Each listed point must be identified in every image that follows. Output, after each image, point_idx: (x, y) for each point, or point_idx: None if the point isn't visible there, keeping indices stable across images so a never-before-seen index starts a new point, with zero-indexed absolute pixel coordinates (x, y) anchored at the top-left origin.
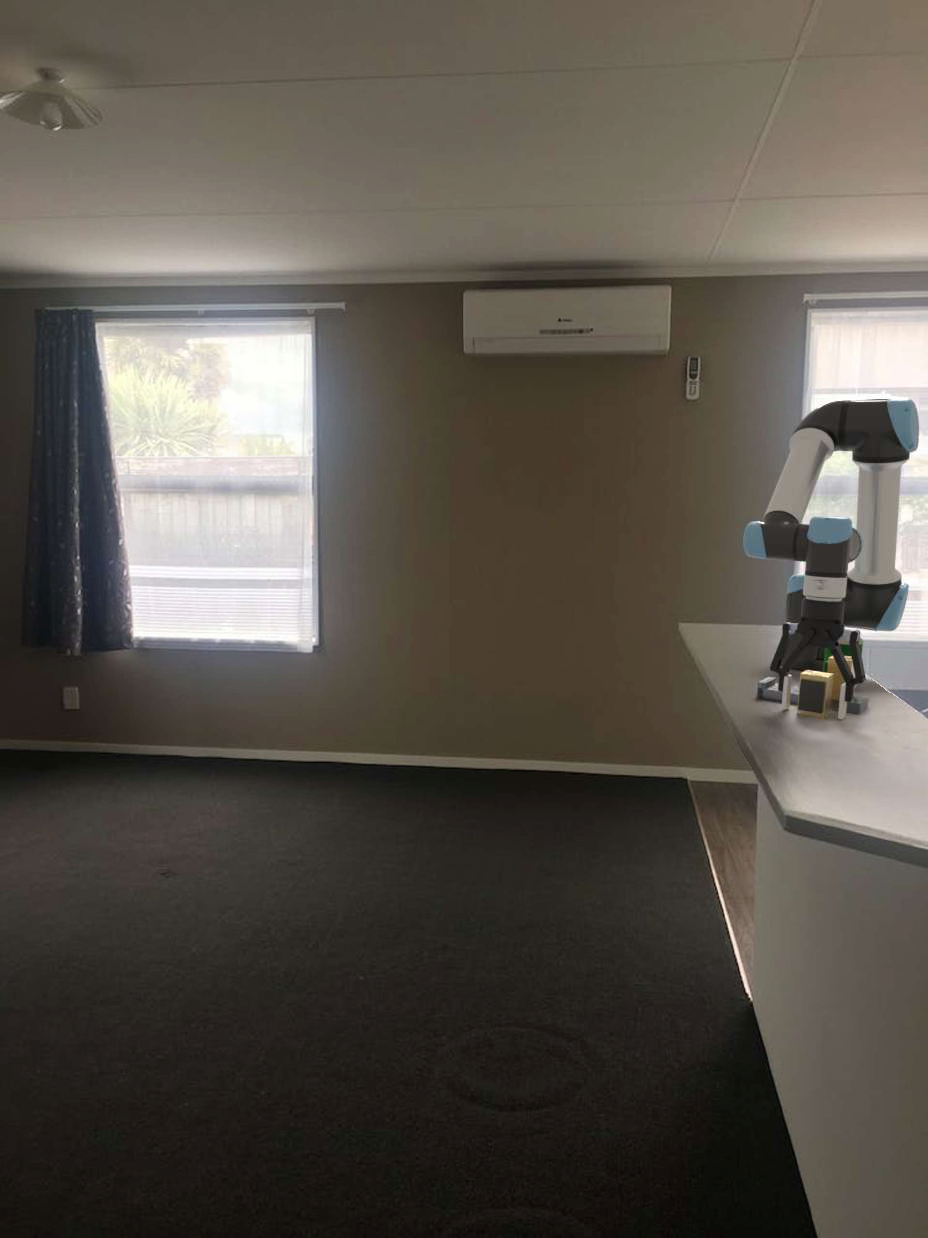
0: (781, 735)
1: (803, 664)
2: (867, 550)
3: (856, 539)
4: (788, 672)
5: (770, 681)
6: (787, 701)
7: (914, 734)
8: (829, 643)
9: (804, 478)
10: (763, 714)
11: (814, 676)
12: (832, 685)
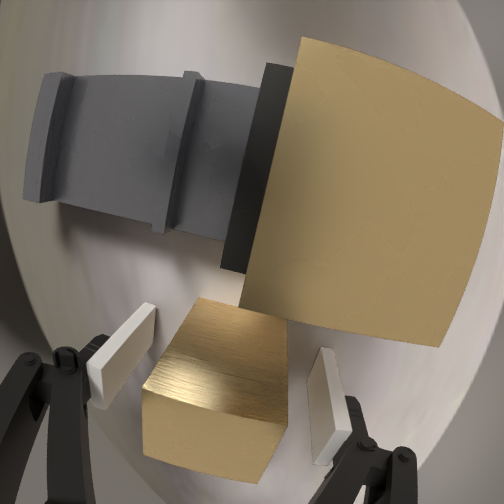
0: (197, 490)
1: None
2: None
3: None
4: (80, 366)
5: (49, 138)
6: (144, 342)
7: (456, 401)
8: None
9: None
10: (121, 388)
11: (202, 469)
12: (287, 385)
